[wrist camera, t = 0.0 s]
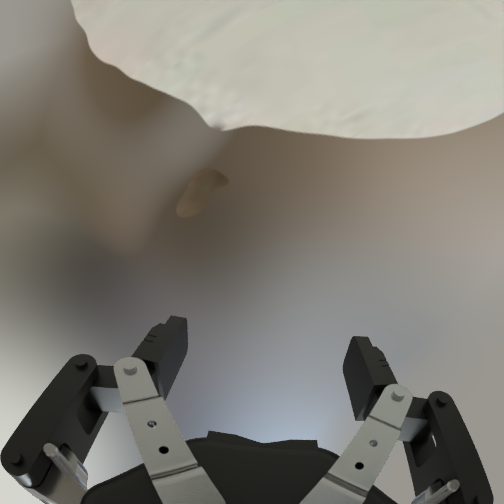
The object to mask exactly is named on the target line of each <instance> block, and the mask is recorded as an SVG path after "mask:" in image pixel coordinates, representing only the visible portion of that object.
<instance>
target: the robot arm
mask: <svg viewBox="0 0 504 504" xmlns="http://www.w3.org/2000/svg"><path fill="white" fill-rule="evenodd" d="M187 349H188V332H187V319H186V318H182V317H177V316H170V318H169V319H168V320H167V322H166V324H158V325H156V326H155V327H153V328H152V329H151V330H150V331H149V333H148V334H147V336H146V337H145V338H144V341H142V342H141V344H140V345H139V347H138V348H137V349H136V351H135V352H134V354H133V355H132V356H131V357H128V358H123V359H121V360H119V361H118V362H117V363H116V364H115V365H114V366H103V365H97V363H96V360H95V359H94V358H93V357H92V356H90V355H86V354H80V355H76V356H74V357H72V358H71V359H70V360H69V361H68V362H67V363H66V364H65V366H64V367H63V368H62V369H61V370H60V372H59V373H58V374H57V375H56V377H55V378H54V379H53V380H52V382H51V383H50V384H49V386H48V387H47V388H46V389H45V391H44V392H43V393H42V395H41V396H40V397H39V398H38V400H37V401H36V403H35V404H34V405H33V406H32V408H31V409H30V410H29V412H28V413H27V415H26V416H25V417H24V419H23V420H22V421H21V423H20V424H19V426H18V427H17V429H16V430H15V431H14V433H13V434H12V436H11V437H10V439H9V440H8V442H7V443H6V445H5V446H4V448H3V450H2V452H1V455H0V456H1V457H0V458H1V463H2V466H3V467H4V469H5V470H6V471H7V472H8V473H9V474H10V475H11V476H12V477H14V479H16V481H17V482H18V483H19V484H20V485H21V486H22V487H24V488H25V489H26V490H27V491H28V492H30V493H31V494H32V495H33V496H35V497H36V498H38V499H40V500H41V501H42V502H43V503H45V504H397V503H396V502H395V501H393V500H392V499H391V498H389V497H388V496H387V495H386V494H384V493H383V492H382V491H381V490H379V489H378V488H377V487H375V486H374V485H373V483H374V482H375V480H376V478H377V477H378V475H379V473H380V472H381V470H382V468H383V466H384V464H385V463H386V461H387V459H388V457H389V455H390V453H391V451H392V449H393V447H394V445H395V443H396V441H397V440H401V441H403V444H404V448H405V452H406V456H407V460H408V464H409V468H410V473H411V477H412V482H413V486H414V491H415V496H416V498H415V499H414V500H413V501H412V503H411V504H493V494H492V491H491V487H490V484H489V482H488V479H487V476H486V473H485V471H484V468H483V465H482V463H481V460H480V458H479V455H478V453H477V450H476V448H475V445H474V444H473V441H472V439H471V436H470V434H469V432H468V430H467V428H466V425H465V423H464V421H463V419H462V417H461V415H460V413H459V411H458V409H457V407H456V405H455V403H454V401H453V399H452V398H451V396H450V395H448V394H447V393H445V392H442V391H434V392H432V393H431V394H430V395H429V397H428V398H427V399H424V398H417V397H413V396H412V393H411V392H410V390H409V389H408V388H406V387H404V386H403V385H399V384H398V383H397V381H396V379H395V377H394V375H393V372H392V370H391V369H390V367H389V364H388V362H387V361H386V358H385V356H384V354H383V352H382V351H380V350H379V349H378V348H377V347H373V346H372V344H371V342H370V340H369V338H368V337H360V336H353V337H352V339H351V341H350V344H349V347H348V350H347V353H346V356H345V359H344V363H343V374H344V378H345V381H346V385H347V389H348V392H349V396H350V400H351V404H352V408H353V412H354V416H355V420H356V421H364V423H363V425H362V426H361V428H360V429H359V431H358V432H357V433H356V435H355V436H354V438H353V439H352V441H351V442H350V444H349V445H348V446H347V448H346V449H345V450H344V452H343V453H342V454H341V456H338V455H337V454H335V453H333V452H331V451H329V450H326V449H323V448H319V447H318V444H317V440H286V441H279V442H271V443H260V442H256V441H253V440H250V439H247V438H244V437H241V436H238V435H234V434H226V433H220V432H214V431H209V432H208V436H207V437H206V438H205V437H204V438H195V439H190V440H187V441H185V440H184V438H183V437H182V435H181V433H180V431H179V430H178V427H177V425H176V424H175V422H174V420H173V418H172V416H171V414H170V412H169V410H168V408H167V406H166V404H165V400H166V398H167V395H168V393H169V391H170V389H171V387H172V385H173V382H174V380H175V378H176V376H177V374H178V372H179V369H180V367H181V365H182V363H183V361H184V358H185V356H186V354H187ZM109 412H123V413H126V416H127V419H128V422H129V425H130V428H131V430H132V433H133V436H134V439H135V441H136V444H137V447H138V449H139V452H140V454H141V457H142V459H143V462H144V463H142V464H140V465H139V466H137V467H134V468H132V469H130V470H128V471H126V472H124V473H122V474H120V475H118V476H115V477H113V478H111V479H109V480H106V481H104V482H102V483H99V484H97V485H95V486H93V487H92V488H90V489H89V490H87V480H88V473H87V470H86V469H85V467H84V466H83V463H84V461H85V459H86V456H87V454H88V452H89V450H90V448H91V446H92V444H93V442H94V440H95V438H96V436H97V434H98V432H99V430H100V428H101V426H102V424H103V423H104V421H105V419H106V417H107V415H108V413H109ZM432 435H434V438H435V441H436V447H435V443H434V441H433V438H432Z"/></svg>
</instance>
